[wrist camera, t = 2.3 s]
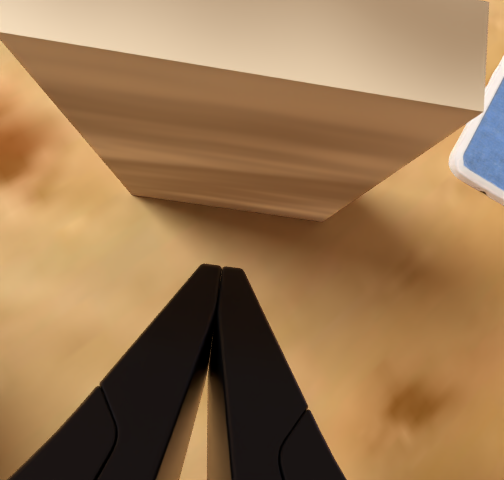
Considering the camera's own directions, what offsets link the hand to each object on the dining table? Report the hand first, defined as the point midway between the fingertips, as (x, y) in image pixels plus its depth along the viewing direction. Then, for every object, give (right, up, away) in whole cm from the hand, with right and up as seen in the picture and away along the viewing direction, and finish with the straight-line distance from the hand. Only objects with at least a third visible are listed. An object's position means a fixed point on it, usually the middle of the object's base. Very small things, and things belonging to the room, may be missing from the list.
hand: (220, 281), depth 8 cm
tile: (0, +4, +11) cm, 12 cm away
